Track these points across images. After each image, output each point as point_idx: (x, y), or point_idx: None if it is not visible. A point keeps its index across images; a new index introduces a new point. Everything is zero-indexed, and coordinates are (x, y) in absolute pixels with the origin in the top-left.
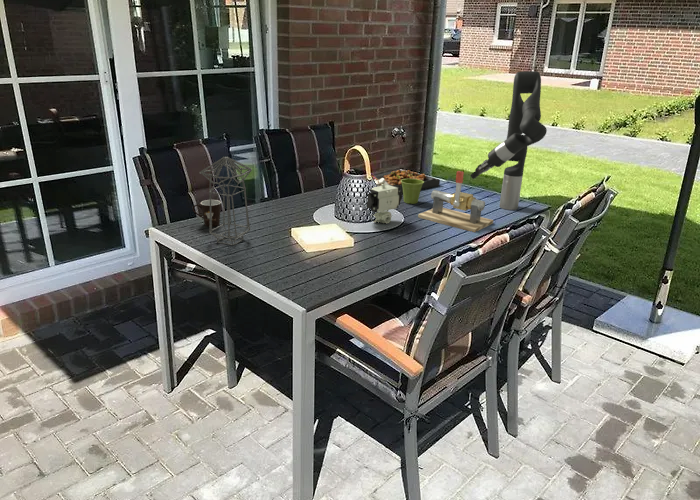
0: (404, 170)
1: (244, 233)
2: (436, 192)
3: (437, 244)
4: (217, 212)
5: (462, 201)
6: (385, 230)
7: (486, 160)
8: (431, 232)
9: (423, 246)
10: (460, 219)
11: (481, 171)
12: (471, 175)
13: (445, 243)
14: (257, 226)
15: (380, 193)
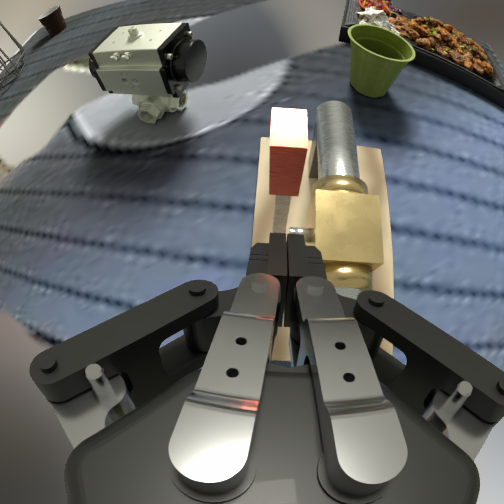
0: (461, 33)
1: (13, 72)
2: (325, 116)
3: (73, 299)
4: (47, 24)
5: (311, 244)
6: (107, 147)
7: (187, 482)
8: (151, 239)
9: (48, 275)
10: None
11: (154, 388)
12: (253, 248)
13: (90, 316)
14: (62, 47)
15: (101, 57)
